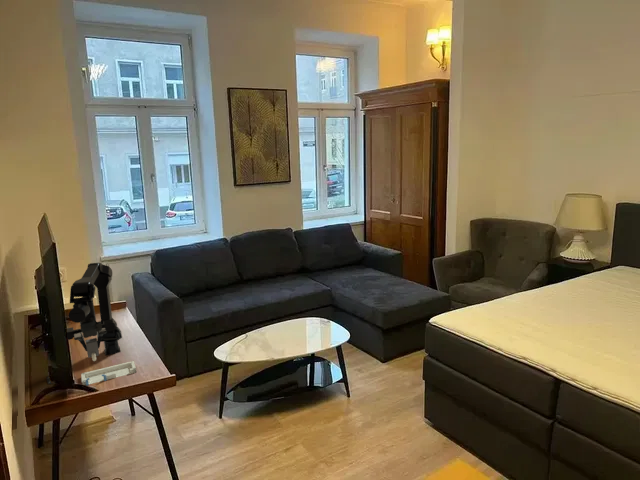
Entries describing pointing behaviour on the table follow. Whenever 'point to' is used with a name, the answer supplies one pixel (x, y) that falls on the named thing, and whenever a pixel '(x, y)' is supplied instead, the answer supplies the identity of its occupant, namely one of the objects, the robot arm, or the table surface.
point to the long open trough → (108, 373)
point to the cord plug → (92, 348)
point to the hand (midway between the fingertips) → (92, 349)
